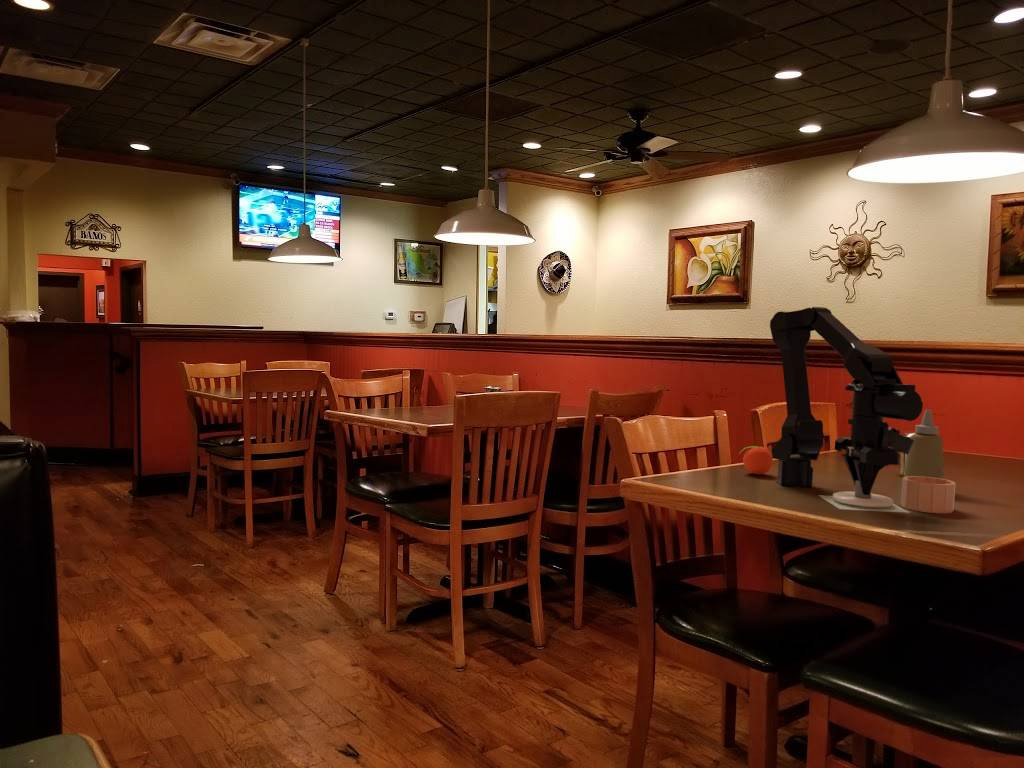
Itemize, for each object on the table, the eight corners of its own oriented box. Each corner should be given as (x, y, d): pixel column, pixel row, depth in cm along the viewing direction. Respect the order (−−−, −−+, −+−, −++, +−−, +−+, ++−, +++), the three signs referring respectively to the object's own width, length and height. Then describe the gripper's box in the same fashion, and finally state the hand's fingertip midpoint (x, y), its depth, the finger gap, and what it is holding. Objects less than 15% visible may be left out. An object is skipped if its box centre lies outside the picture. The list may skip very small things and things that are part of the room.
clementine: (738, 475, 186) (740, 446, 185) (737, 470, 192) (738, 442, 192) (773, 478, 184) (775, 448, 183) (770, 473, 191) (772, 444, 190)
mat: (839, 512, 148) (839, 508, 148) (818, 498, 161) (818, 495, 161) (909, 515, 147) (910, 512, 147) (882, 501, 160) (883, 498, 160)
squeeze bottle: (928, 486, 180) (934, 409, 179) (951, 493, 172) (956, 412, 171) (895, 485, 179) (900, 407, 178) (916, 492, 171) (922, 411, 170)
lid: (844, 505, 149) (845, 485, 149) (825, 494, 160) (826, 475, 160) (902, 508, 148) (904, 487, 148) (879, 496, 159) (881, 477, 159)
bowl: (913, 514, 148) (915, 483, 148) (893, 504, 157) (895, 475, 157) (961, 516, 147) (964, 485, 147) (939, 506, 156) (941, 477, 156)
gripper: (931, 422, 143) (925, 505, 144) (890, 412, 162) (886, 486, 163) (869, 419, 144) (864, 502, 145) (836, 410, 163) (831, 483, 164)
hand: (862, 493), depth 154 cm, fingers closed on lid, 3 cm apart
